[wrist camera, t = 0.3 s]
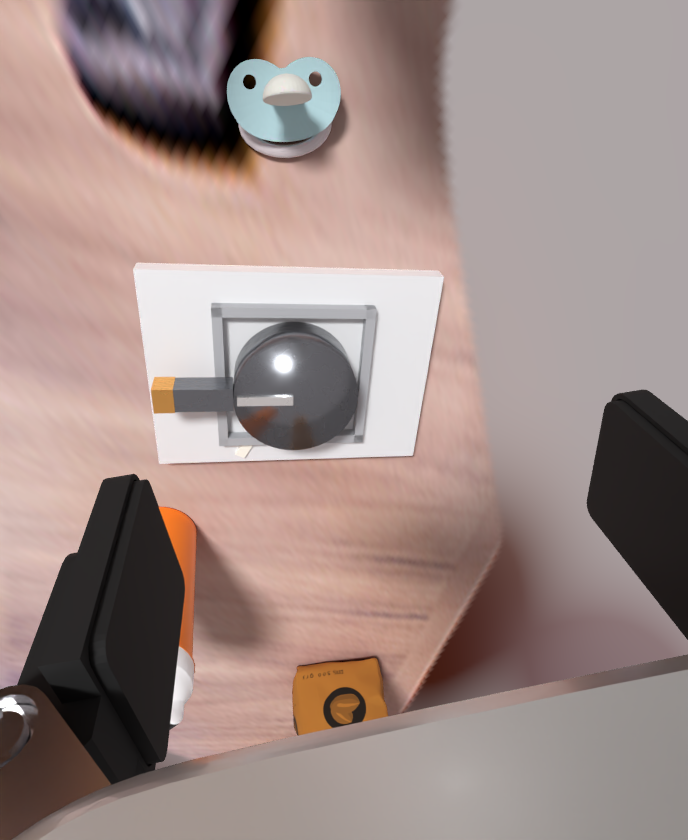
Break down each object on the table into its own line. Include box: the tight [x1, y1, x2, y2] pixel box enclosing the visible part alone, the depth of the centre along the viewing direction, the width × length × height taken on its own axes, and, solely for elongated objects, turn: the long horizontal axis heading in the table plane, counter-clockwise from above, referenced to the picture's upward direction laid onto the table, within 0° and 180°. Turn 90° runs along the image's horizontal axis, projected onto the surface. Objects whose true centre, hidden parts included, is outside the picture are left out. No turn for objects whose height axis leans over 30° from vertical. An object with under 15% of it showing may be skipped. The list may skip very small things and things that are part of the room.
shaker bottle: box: [159, 507, 197, 730], centre depth 49 cm, size 9×9×20 cm
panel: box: [133, 263, 444, 464], centre depth 48 cm, size 18×24×3 cm
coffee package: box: [292, 658, 388, 736], centre depth 66 cm, size 10×12×22 cm
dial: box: [151, 322, 358, 450], centre depth 45 cm, size 16×10×4 cm, turn 86°
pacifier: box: [227, 57, 341, 158], centre depth 36 cm, size 7×6×6 cm
